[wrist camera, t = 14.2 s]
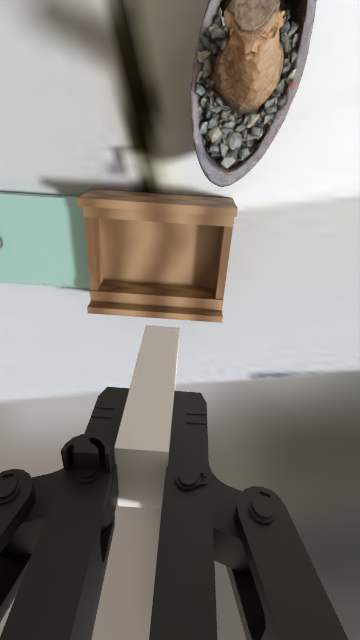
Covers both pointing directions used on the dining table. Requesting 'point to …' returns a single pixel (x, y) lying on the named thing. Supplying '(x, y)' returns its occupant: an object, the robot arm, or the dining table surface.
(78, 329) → the dining table surface
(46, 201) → the lid
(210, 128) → the planter
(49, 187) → the dining table surface
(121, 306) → the box
